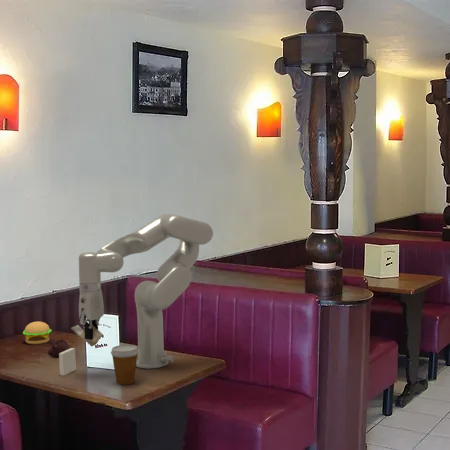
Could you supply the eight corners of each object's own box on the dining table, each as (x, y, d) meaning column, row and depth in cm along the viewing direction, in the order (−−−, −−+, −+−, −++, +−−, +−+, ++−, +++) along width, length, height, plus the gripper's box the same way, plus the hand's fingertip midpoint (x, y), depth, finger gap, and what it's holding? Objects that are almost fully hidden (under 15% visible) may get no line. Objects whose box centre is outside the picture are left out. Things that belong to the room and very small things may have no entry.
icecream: (80, 341, 281) (58, 338, 291) (64, 340, 275) (42, 337, 286) (78, 359, 280) (56, 355, 290) (62, 358, 274) (40, 355, 284)
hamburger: (51, 344, 303) (51, 324, 302) (22, 346, 300) (21, 326, 299) (52, 337, 314) (51, 318, 313) (23, 339, 311) (22, 320, 311)
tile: (75, 369, 264) (75, 348, 264) (63, 375, 257) (62, 353, 256) (71, 369, 265) (70, 347, 264) (59, 375, 258) (58, 353, 257)
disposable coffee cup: (134, 386, 243) (133, 352, 241) (108, 385, 244) (106, 351, 243) (142, 378, 252) (141, 344, 251) (117, 377, 254) (115, 344, 252)
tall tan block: (96, 344, 258) (103, 334, 256) (90, 346, 254) (97, 336, 253) (77, 326, 260) (83, 316, 259) (71, 328, 256) (77, 318, 255)
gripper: (87, 291, 245) (88, 344, 247) (110, 284, 261) (112, 333, 262) (68, 290, 248) (69, 342, 250) (93, 283, 263) (94, 332, 265)
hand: (91, 337), depth 256 cm, fingers closed on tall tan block, 2 cm apart
